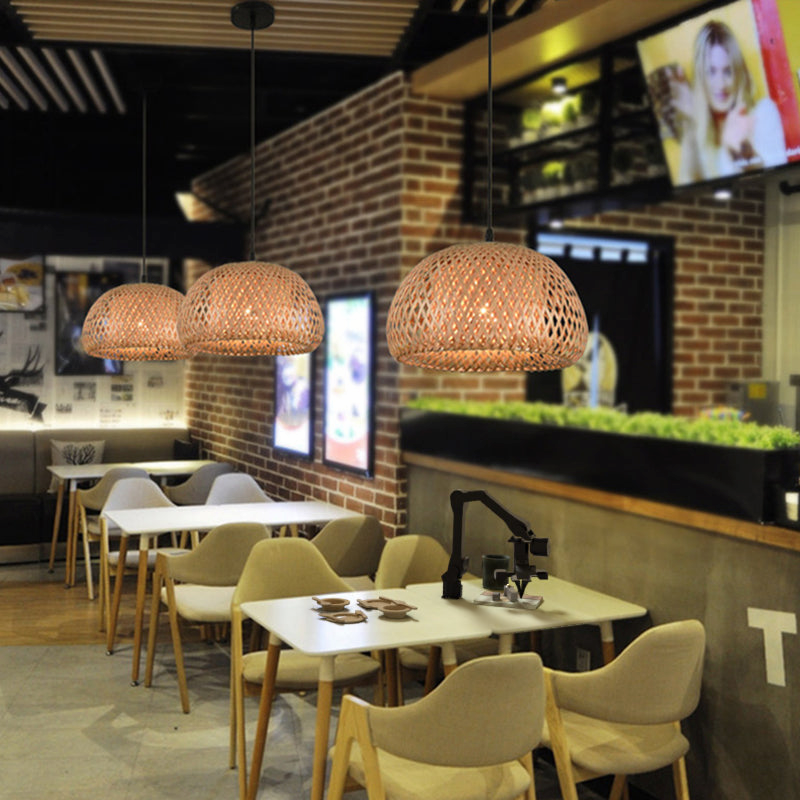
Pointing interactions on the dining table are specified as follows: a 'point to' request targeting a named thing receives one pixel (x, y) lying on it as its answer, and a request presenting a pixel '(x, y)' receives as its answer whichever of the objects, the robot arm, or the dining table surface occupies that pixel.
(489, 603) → the door mock-up board
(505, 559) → the mug
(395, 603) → the tableware set
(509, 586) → the bar
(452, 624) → the dining table surface
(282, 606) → the dining table surface
